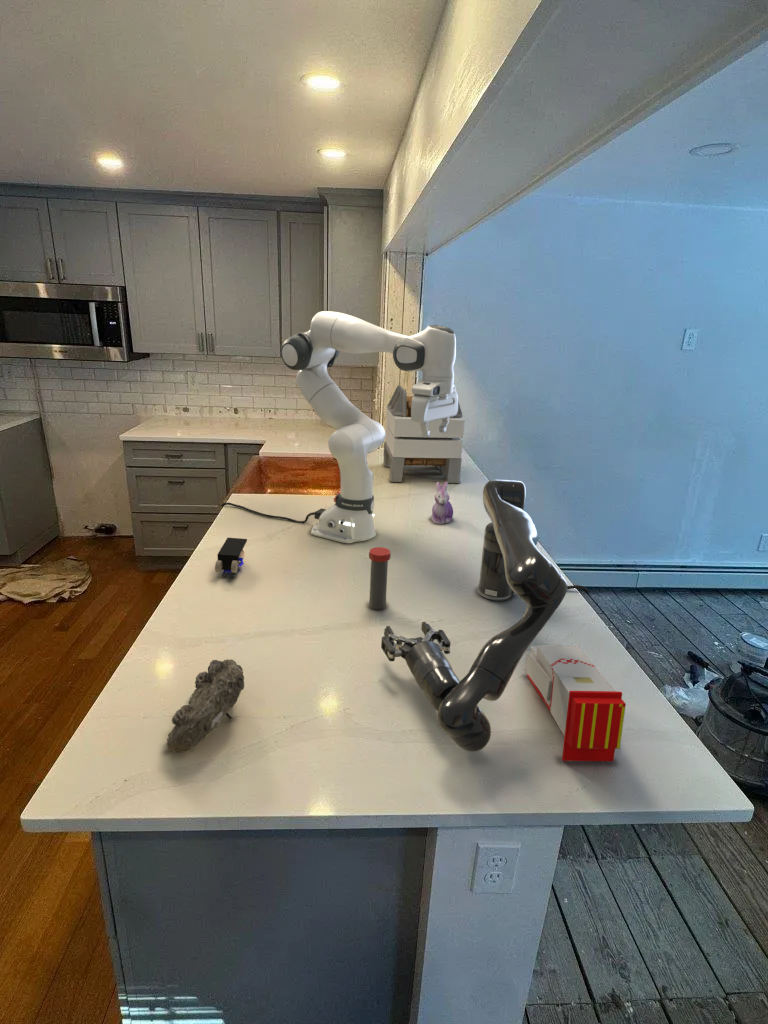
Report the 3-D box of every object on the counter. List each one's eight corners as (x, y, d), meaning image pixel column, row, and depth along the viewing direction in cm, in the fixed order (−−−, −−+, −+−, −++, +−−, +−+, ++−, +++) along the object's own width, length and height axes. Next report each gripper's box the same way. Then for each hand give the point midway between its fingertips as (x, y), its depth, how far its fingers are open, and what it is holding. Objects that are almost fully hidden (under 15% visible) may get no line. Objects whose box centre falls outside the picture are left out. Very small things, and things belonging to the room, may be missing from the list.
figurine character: (238, 584, 162) (249, 557, 175) (236, 562, 158) (247, 536, 172) (215, 584, 161) (227, 556, 175) (212, 561, 158) (225, 535, 171)
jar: (375, 611, 148) (378, 557, 143) (366, 604, 152) (368, 551, 146) (388, 606, 151) (391, 553, 146) (379, 600, 154) (381, 548, 149)
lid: (377, 564, 143) (377, 557, 142) (364, 556, 147) (364, 549, 146) (394, 559, 146) (394, 552, 145) (381, 551, 150) (382, 545, 150)
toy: (573, 628, 126) (635, 699, 97) (567, 683, 129) (626, 769, 99) (519, 627, 125) (565, 698, 96) (514, 682, 128) (557, 768, 99)
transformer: (382, 463, 289) (386, 382, 275) (445, 464, 293) (451, 384, 279) (390, 482, 257) (394, 392, 243) (460, 483, 261) (468, 394, 247)
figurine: (438, 526, 208) (441, 487, 203) (424, 517, 217) (426, 479, 211) (459, 522, 212) (463, 484, 207) (444, 514, 221) (447, 477, 216)
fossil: (192, 660, 117) (244, 628, 112) (224, 691, 120) (276, 661, 115) (142, 746, 98) (202, 712, 93) (182, 779, 101) (242, 748, 96)
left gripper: (446, 382, 169) (443, 428, 174) (408, 387, 153) (405, 438, 158) (465, 384, 166) (461, 431, 170) (427, 390, 150) (424, 441, 155)
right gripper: (396, 689, 113) (374, 645, 128) (461, 679, 117) (433, 638, 132) (398, 657, 111) (375, 616, 125) (465, 648, 115) (435, 609, 129)
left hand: (434, 434), depth 164 cm, fingers open, 8 cm apart
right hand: (405, 627), depth 129 cm, fingers open, 8 cm apart
